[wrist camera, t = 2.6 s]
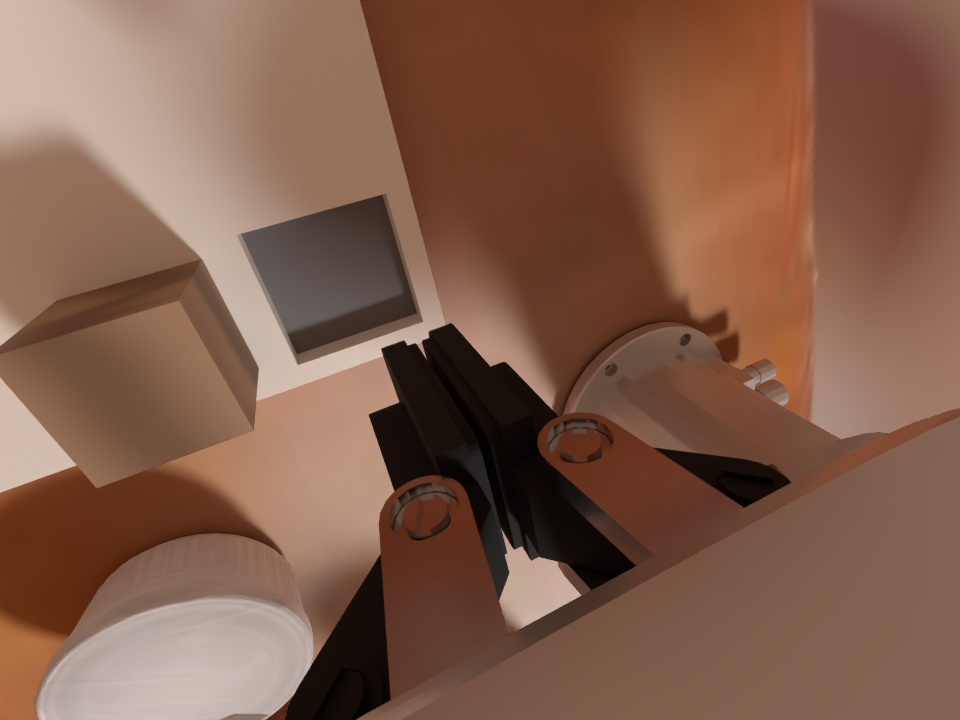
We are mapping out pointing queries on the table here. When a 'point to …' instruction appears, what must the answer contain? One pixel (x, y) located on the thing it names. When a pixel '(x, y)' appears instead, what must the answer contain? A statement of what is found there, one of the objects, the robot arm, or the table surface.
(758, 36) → the table surface
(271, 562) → the ramekin
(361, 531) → the table surface
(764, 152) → the table surface
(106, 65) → the trap deck
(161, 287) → the walnut block
